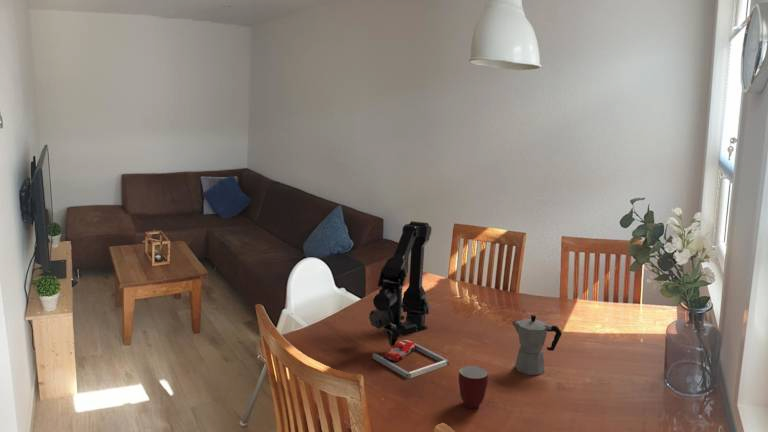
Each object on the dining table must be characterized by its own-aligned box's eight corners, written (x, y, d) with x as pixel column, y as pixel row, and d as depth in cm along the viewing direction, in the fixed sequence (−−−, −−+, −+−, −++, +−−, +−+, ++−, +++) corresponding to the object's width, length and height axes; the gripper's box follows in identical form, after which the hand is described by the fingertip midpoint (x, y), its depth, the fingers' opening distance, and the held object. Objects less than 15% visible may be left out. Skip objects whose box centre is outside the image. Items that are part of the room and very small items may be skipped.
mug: (463, 392, 185) (465, 360, 183) (490, 397, 182) (492, 365, 180) (454, 408, 175) (455, 375, 173) (482, 414, 172) (484, 380, 170)
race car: (396, 364, 203) (396, 353, 202) (382, 360, 206) (382, 348, 205) (417, 350, 214) (418, 339, 213) (404, 346, 217) (404, 335, 216)
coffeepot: (505, 371, 199) (509, 317, 195) (511, 359, 207) (515, 307, 204) (556, 380, 193) (560, 325, 190) (560, 368, 202) (564, 314, 198)
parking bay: (412, 346, 216) (412, 341, 216) (448, 364, 203) (449, 360, 202) (372, 358, 206) (372, 354, 206) (408, 378, 192) (408, 374, 192)
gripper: (356, 297, 211) (356, 341, 214) (391, 314, 196) (390, 361, 199) (383, 291, 217) (382, 334, 220) (418, 307, 203) (417, 353, 206)
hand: (392, 345), depth 211 cm, fingers closed
